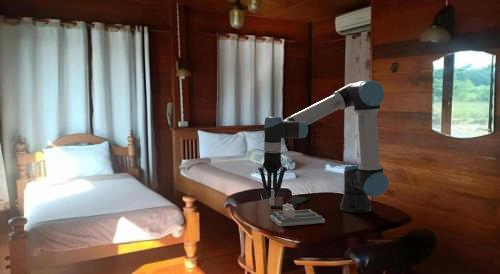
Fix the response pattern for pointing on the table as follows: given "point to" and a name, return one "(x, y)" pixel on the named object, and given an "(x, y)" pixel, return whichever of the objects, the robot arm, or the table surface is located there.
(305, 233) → the table surface
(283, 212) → the tab
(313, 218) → the switch plate
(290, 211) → the tab
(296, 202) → the firearm
